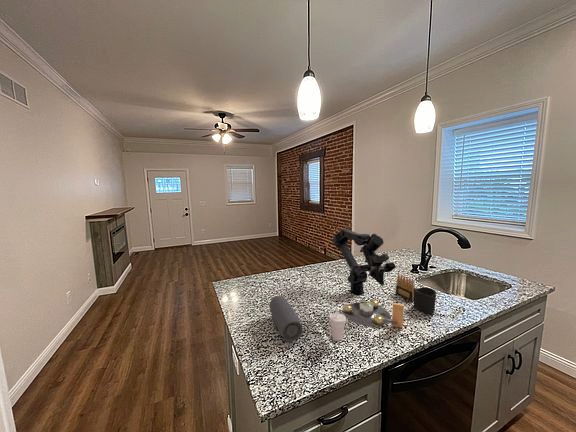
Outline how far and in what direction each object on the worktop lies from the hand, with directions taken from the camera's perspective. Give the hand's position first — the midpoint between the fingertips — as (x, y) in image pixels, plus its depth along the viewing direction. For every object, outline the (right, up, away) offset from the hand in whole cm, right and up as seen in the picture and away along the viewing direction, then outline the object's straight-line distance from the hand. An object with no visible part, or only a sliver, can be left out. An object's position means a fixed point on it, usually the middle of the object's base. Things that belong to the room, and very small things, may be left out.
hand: (382, 285), depth 115 cm
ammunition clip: (+18, -11, +17) cm, 27 cm away
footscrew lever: (-2, -13, -11) cm, 17 cm away
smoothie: (-25, -16, -19) cm, 35 cm away
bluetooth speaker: (-46, -16, -10) cm, 49 cm away
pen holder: (+21, -13, +3) cm, 25 cm away
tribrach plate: (-8, -14, -1) cm, 16 cm away
